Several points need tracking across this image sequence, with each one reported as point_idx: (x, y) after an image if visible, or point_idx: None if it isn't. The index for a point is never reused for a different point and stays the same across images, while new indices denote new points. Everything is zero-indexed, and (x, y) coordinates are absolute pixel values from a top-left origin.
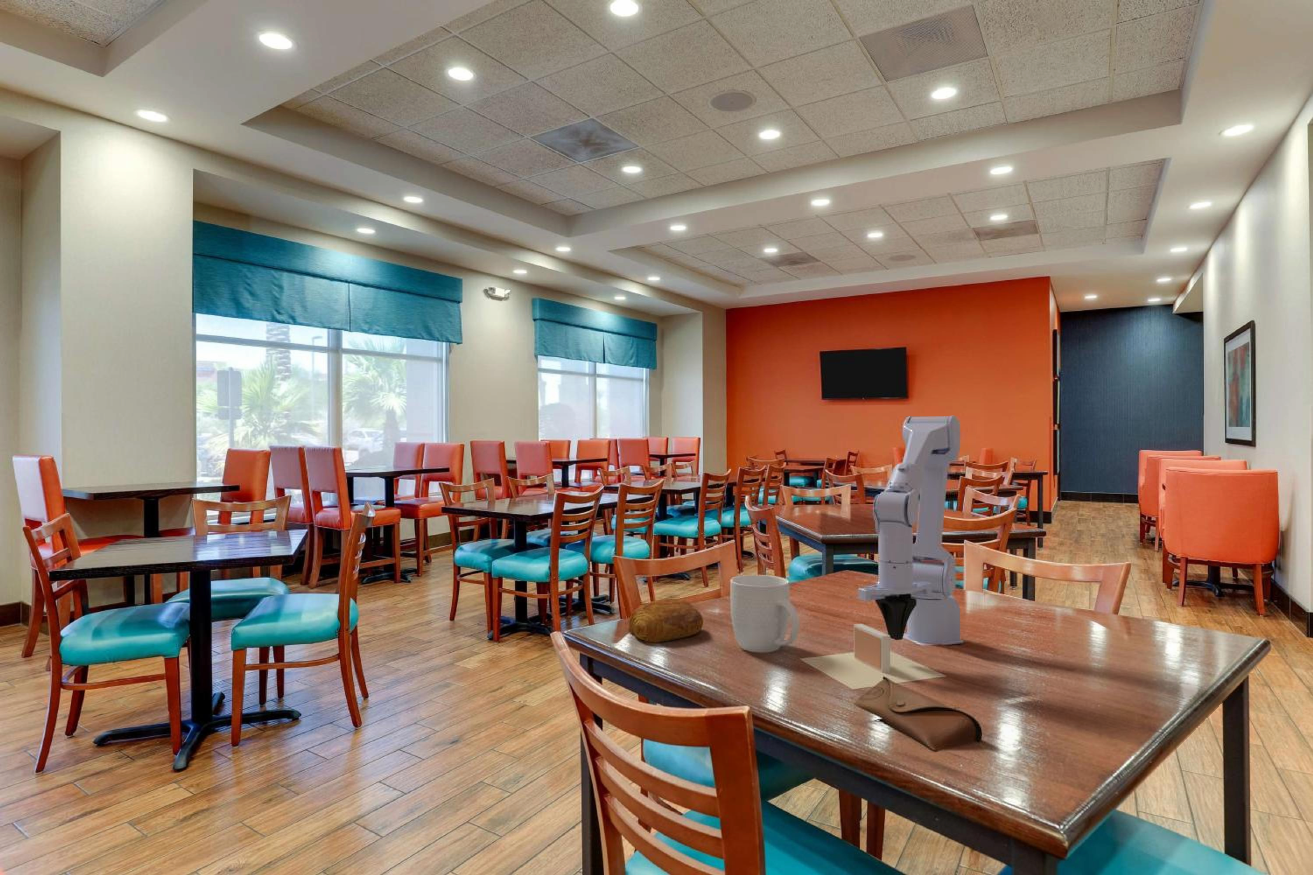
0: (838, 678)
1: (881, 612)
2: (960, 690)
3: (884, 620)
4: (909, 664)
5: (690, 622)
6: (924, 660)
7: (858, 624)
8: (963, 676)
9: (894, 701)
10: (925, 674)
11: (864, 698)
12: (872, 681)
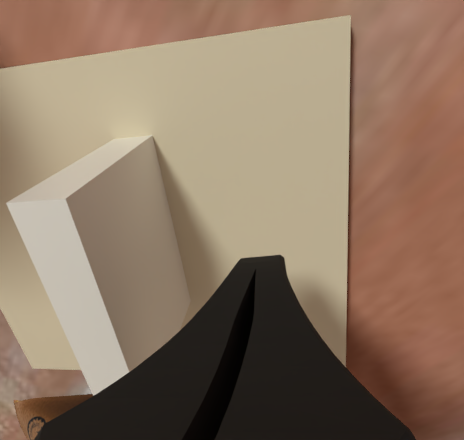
0: (8, 303)
1: (155, 353)
2: None
3: (196, 313)
4: (304, 263)
5: None
6: (439, 196)
7: (38, 211)
8: (424, 363)
9: None
10: None
11: (32, 437)
12: None
